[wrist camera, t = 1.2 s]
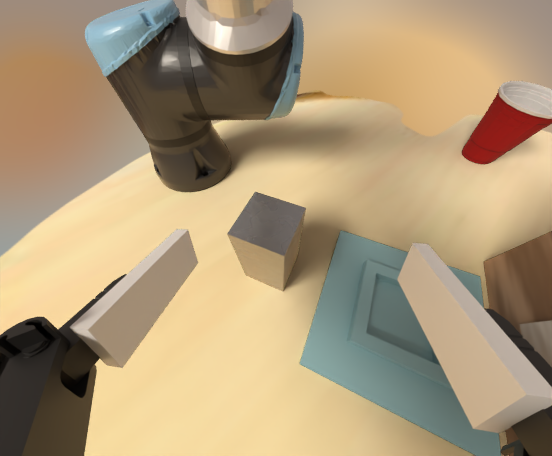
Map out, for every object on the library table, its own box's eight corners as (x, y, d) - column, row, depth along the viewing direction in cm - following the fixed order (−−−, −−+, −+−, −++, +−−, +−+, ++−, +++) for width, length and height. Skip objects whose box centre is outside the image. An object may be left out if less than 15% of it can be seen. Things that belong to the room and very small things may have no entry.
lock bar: (245, 275, 29) (227, 233, 19) (263, 242, 32) (255, 191, 22) (282, 291, 28) (284, 256, 18) (297, 255, 31) (306, 208, 21)
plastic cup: (491, 181, 38) (566, 119, 28) (439, 152, 43) (487, 91, 33) (517, 159, 41) (593, 97, 31) (466, 135, 46) (517, 75, 36)
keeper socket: (299, 363, 23) (300, 364, 22) (340, 231, 33) (343, 225, 31) (498, 467, 18) (519, 478, 17) (477, 277, 28) (489, 272, 27)
